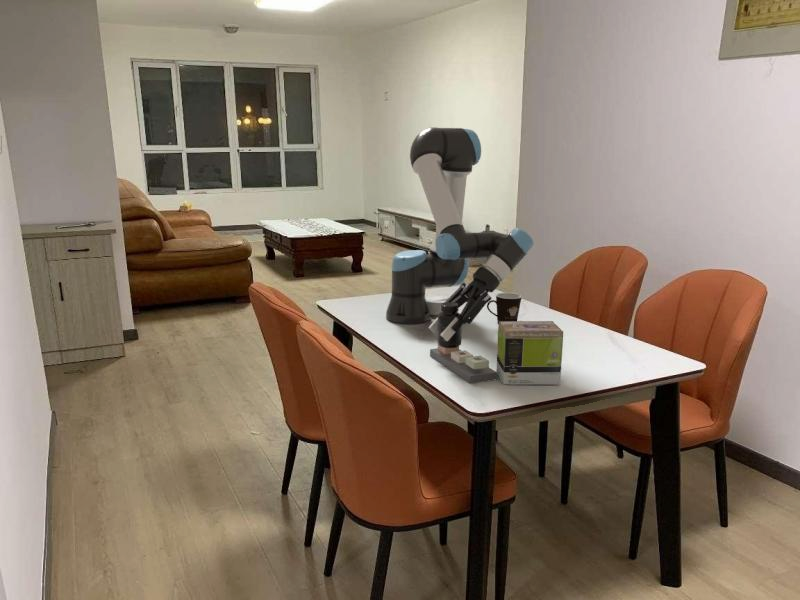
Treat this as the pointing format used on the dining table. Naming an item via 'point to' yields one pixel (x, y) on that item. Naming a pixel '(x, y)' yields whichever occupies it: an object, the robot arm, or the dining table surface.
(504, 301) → the coffee mug
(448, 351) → the key
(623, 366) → the dining table surface
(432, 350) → the board
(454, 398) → the dining table surface
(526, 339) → the tea box
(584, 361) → the dining table surface
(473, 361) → the key
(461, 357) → the key mid
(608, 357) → the dining table surface
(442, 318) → the supplement bottle
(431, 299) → the ramekin
